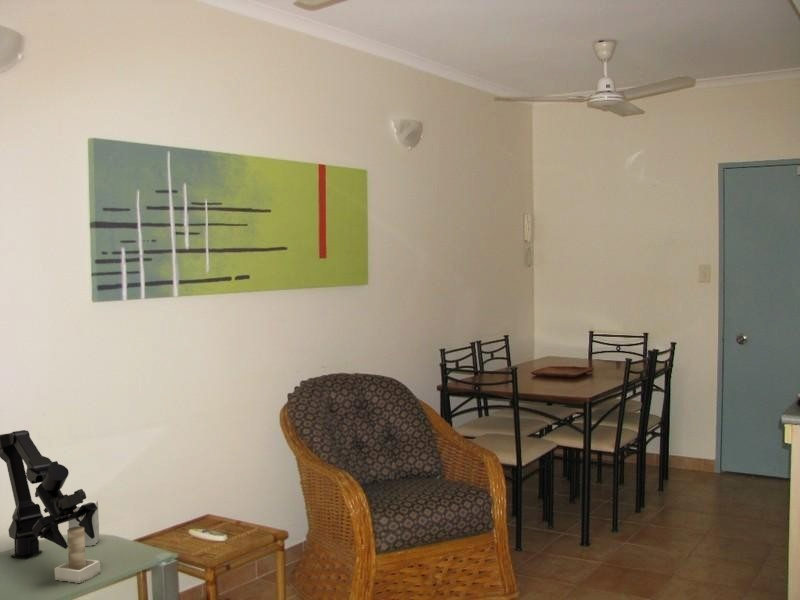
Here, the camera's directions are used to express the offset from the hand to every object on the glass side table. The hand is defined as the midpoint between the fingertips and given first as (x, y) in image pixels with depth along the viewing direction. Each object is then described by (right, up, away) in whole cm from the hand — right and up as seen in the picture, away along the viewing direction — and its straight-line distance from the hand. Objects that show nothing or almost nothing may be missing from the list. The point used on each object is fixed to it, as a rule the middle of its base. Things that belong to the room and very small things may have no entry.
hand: (80, 542), depth 232 cm
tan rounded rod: (-1, -9, +1) cm, 9 cm away
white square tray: (-1, -10, +1) cm, 10 cm away
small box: (-10, -9, +30) cm, 33 cm away
